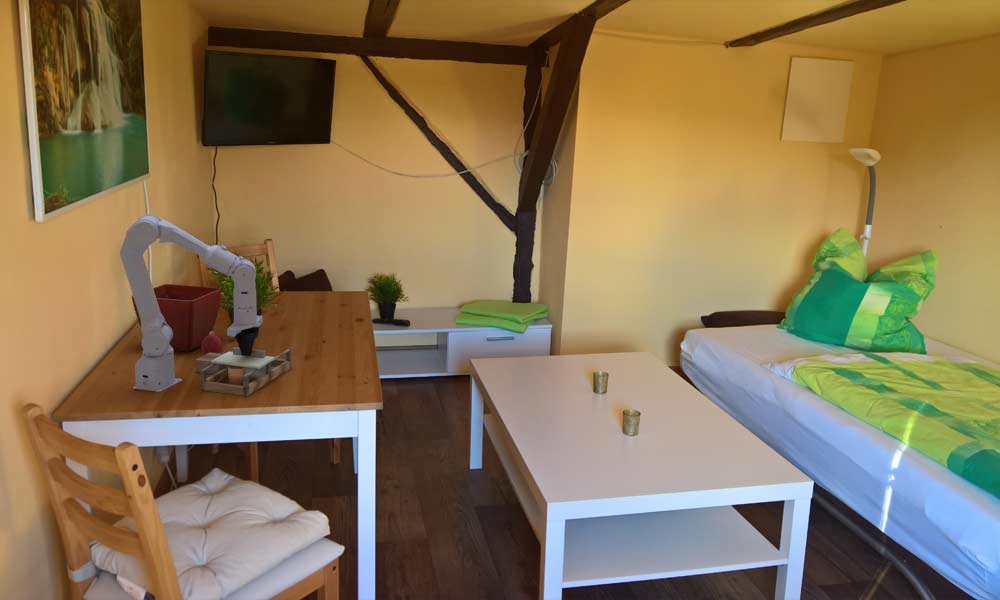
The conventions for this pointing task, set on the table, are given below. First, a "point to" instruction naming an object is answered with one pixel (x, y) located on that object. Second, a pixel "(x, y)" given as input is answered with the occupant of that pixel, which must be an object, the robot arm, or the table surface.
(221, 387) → the cold frame
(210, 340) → the onion
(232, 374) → the pot
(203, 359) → the stand
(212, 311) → the plant pot
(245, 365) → the lid
